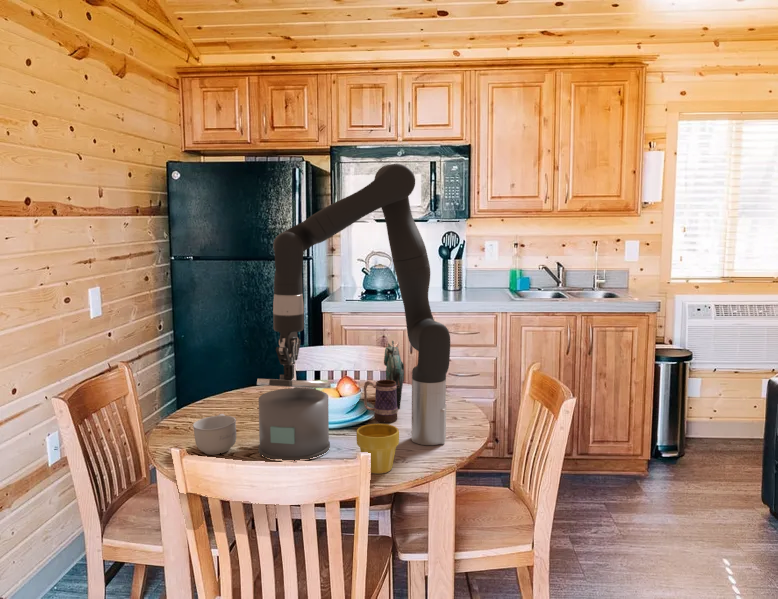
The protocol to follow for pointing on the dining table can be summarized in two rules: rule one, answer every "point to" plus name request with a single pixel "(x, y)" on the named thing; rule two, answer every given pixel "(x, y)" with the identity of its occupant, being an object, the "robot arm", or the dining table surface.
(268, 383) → the cooker lid
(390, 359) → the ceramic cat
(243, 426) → the dining table surface
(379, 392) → the mug
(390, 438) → the plant pot
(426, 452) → the dining table surface
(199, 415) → the dining table surface
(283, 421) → the cooker
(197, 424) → the teacup
